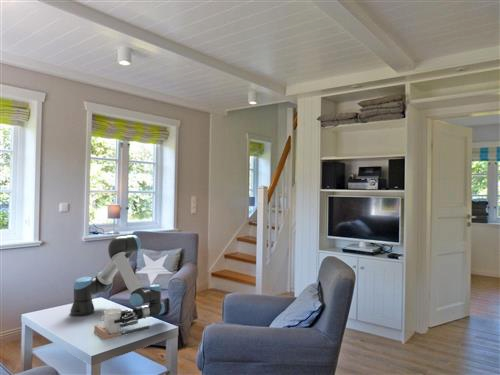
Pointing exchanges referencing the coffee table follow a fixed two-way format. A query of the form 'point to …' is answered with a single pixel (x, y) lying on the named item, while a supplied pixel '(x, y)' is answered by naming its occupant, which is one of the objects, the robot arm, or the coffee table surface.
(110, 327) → the candle holder
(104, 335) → the orange u-shaped bracket
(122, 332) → the guide rails
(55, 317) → the coffee table surface
